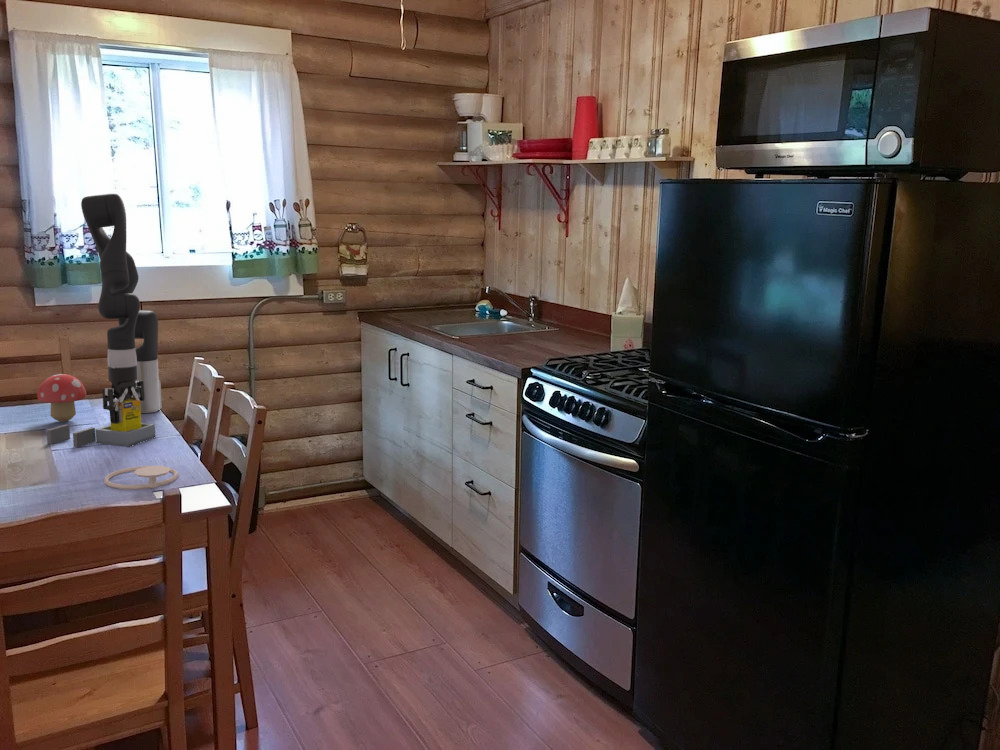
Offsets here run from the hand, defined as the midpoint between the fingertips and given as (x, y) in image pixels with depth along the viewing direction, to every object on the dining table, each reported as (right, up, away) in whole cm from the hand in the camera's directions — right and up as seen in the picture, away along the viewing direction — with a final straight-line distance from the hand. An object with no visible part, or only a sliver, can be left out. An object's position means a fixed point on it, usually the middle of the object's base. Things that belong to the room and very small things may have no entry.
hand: (125, 420), depth 236 cm
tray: (0, -6, +1) cm, 6 cm away
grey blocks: (-14, -6, -3) cm, 15 cm away
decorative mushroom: (-28, -2, +19) cm, 34 cm away
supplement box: (0, -5, +1) cm, 5 cm away
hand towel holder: (+20, -14, -33) cm, 41 cm away
